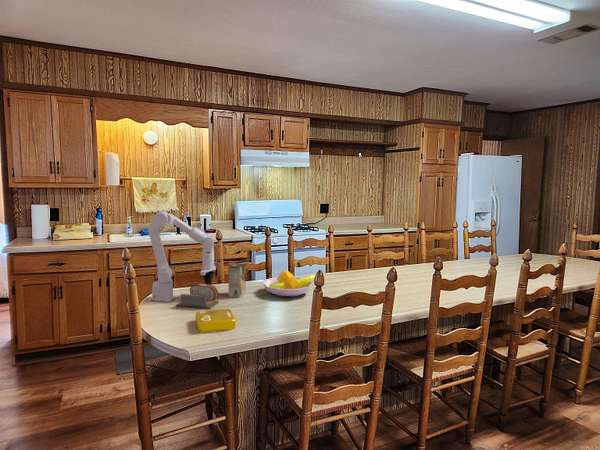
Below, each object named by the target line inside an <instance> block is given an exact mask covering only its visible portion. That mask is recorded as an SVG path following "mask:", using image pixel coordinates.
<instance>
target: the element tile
mask: <svg viewBox="0 0 600 450" xmlns="http://www.w3.org/2000/svg"><path fill="white" fill-rule="evenodd" d="M195 325H196V329H197V332H198V331H199V332H198V333H200V332H206V333H212V332H211V331H216V332H222V331H221V330H225V331H232V329H233V330H235V329H236V318H235V316H234V314H233V311H232V310H231V309H229V308H225V309H224V308H223V309H214V310H213V309H210V310H202V311H199V310H198V311H196V313H195Z"/></svg>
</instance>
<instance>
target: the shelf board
mask: <svg viewBox="0 0 600 450" xmlns="http://www.w3.org/2000/svg"><path fill="white" fill-rule="evenodd" d="M218 304H219V300H214V301H212V300H206V307H204V309H202V308H201V307H200V308H201V309H200V308H199V307H197V306H196V308H194V307H193V306H191V307H193V308H192V309H198V308H199V310H208V311H210V310H212V309H214V308H215V306H216V305H218ZM175 306H176V307H177V308H182V307H181V301H179V302H178V303H176V304H175ZM182 306H183V305H182ZM185 308H187V305H186V307H185ZM188 309H191V308H190V307H189V306H188Z"/></svg>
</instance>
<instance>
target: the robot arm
mask: <svg viewBox="0 0 600 450" xmlns="http://www.w3.org/2000/svg"><path fill="white" fill-rule="evenodd" d="M166 224H167V226H168V225H169V226H170V225H171V226H176V227H177V228H179V229H181V230H183V231H184V232H186V233H187V234H188V237H189V238H190V239H192V240H193V241H195V242H196V243H198V244H201V245H202V256H201V259H202V260H201V262H202V268H201V270H200V271H199V272H200V276H202V277H203V279H204V284H209V285H212V282H213V277H214V275H215V273H216V270H217V268H216V265H215V248H214V246H215V240H214V238H213V237H212V236H211V235H209V234H208V233H205V231H202V230H201V228H200V227H194V226H193V227H192V226H190V225H189V224H187V223H185V222H184V221H183V220H182V219H180V218H178V217H177V216H176V215H174V214H171V213H168V211H166V210H160V211H158V212H156V214H155V215H154V216H153V217H152V219H151V221H150V224H149V227H148V229H147V230H148V235H149V239H150V242H151V246H152V250H153V253H154V259H155V261H156V265H157V266H156V267H157V272H158V273H157V280H156V281H154V282H153V283H152V287H151V298H152V299H151V301H153V302H154V301H156V302H166V303H167V302H171V301H172V300H174V299H175V298H177V296H176V295H174V281H173V279H172V275H173V270H172V269H171V267H170V266H169V263H168V261H167V256H166V253H165V248H164V245H163V242H162V241H163V240H162V236H161V234H160V230H161V229H162V228H163V226H165V225H166Z"/></svg>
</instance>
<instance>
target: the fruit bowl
mask: <svg viewBox="0 0 600 450" xmlns="http://www.w3.org/2000/svg"><path fill="white" fill-rule="evenodd" d="M315 274H316V273H314V274H311V275H309V276H305V277H298V276H294V274H292V273H291V272H290V271H288V270H282V271H281V272H279V274H278V276H276V277H275V276H274V277H270V278H267V279H265V280H264V281H262V284H263V286H264V288H265V289H266V291H267V292H269V293H271V294H274V295H275V296H278V297H299V296H300V295H303V294H306V293H307V292H310V289H311V288H312V286H313V284H314V282H312V281H313V280H314V279H315V278H316V276H315Z"/></svg>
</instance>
